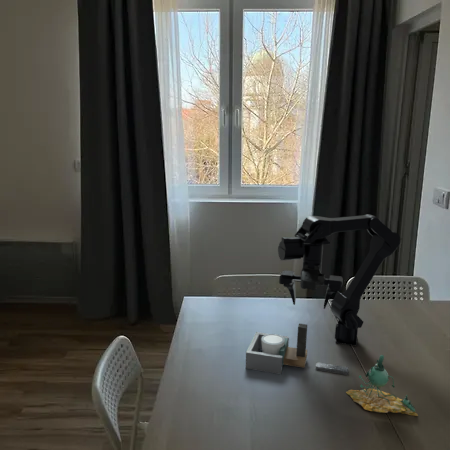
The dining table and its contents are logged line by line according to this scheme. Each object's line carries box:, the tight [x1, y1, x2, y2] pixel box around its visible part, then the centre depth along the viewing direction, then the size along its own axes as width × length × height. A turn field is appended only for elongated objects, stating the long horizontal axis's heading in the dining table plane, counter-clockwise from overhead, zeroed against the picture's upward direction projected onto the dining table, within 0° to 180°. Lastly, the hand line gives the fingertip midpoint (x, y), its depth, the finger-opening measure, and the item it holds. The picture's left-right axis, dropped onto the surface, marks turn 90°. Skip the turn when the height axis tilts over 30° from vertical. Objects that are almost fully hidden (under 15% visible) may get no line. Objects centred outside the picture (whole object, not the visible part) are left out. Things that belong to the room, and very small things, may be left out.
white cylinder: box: [261, 333, 285, 355], centre depth 136 cm, size 7×7×7 cm
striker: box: [279, 323, 308, 369], centre depth 134 cm, size 7×8×11 cm
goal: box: [245, 331, 290, 375], centre depth 137 cm, size 10×13×5 cm
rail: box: [315, 361, 349, 376], centre depth 132 cm, size 9×2×1 cm, turn 74°
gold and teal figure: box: [345, 354, 419, 417], centre depth 116 cm, size 10×18×15 cm, turn 48°
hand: (309, 306), depth 144 cm, fingers open, 9 cm apart
